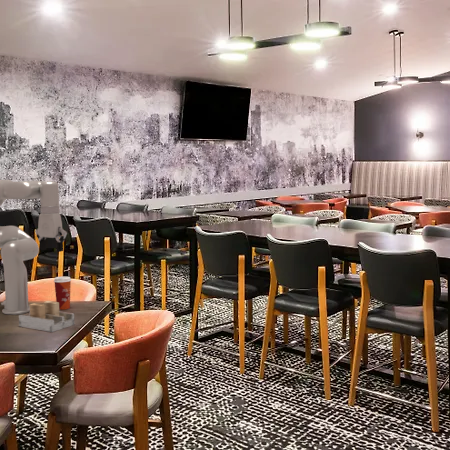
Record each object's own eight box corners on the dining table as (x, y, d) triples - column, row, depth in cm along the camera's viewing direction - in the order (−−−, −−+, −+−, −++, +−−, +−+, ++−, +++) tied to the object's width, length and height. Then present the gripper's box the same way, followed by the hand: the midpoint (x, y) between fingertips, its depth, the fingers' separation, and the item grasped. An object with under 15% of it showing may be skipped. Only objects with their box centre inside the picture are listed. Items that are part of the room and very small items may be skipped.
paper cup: (67, 310, 267) (66, 279, 266) (51, 309, 268) (50, 279, 267) (75, 306, 275) (74, 276, 273) (59, 305, 276) (58, 275, 275)
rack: (19, 326, 241) (18, 315, 241) (42, 319, 252) (41, 308, 252) (52, 332, 233) (51, 320, 232) (74, 324, 244) (74, 313, 243)
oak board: (30, 326, 241) (29, 304, 241) (35, 324, 244) (34, 303, 243) (41, 328, 239) (40, 306, 238) (45, 326, 241) (45, 304, 240)
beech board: (44, 323, 245) (43, 302, 244) (49, 322, 247) (48, 300, 247) (55, 325, 242) (54, 303, 242) (59, 324, 245) (58, 302, 244)
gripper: (28, 210, 254) (30, 250, 256) (58, 212, 246) (60, 253, 248) (41, 209, 261) (43, 248, 263) (71, 210, 253) (73, 250, 254)
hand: (51, 250), depth 255 cm, fingers open, 9 cm apart
